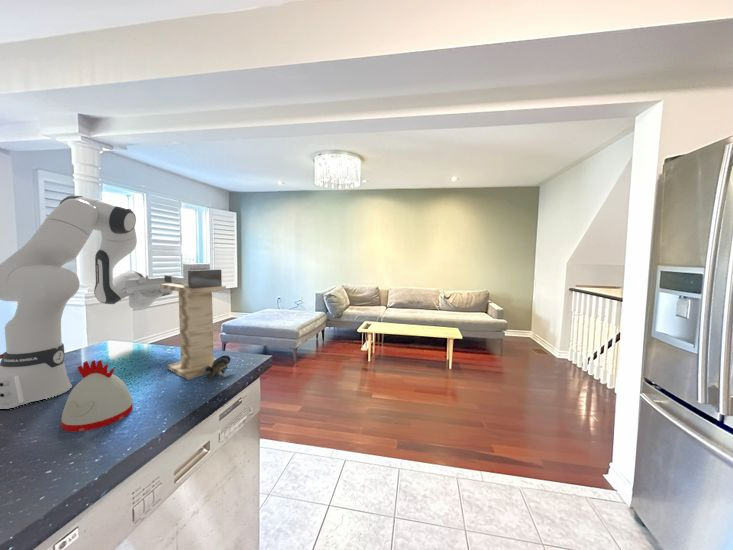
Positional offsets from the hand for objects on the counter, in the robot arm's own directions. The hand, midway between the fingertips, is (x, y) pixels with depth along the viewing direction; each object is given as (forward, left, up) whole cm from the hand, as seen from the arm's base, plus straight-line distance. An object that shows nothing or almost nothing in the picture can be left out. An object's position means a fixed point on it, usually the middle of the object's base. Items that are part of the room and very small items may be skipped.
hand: (159, 276), depth 127 cm
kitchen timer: (+9, -53, -33) cm, 63 cm away
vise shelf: (+21, -21, -33) cm, 44 cm away
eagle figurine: (+31, -30, -33) cm, 54 cm away
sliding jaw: (+15, -15, -2) cm, 22 cm away
